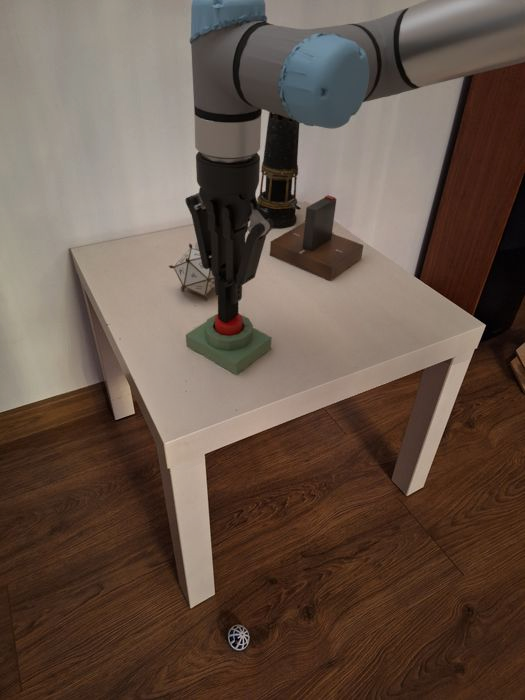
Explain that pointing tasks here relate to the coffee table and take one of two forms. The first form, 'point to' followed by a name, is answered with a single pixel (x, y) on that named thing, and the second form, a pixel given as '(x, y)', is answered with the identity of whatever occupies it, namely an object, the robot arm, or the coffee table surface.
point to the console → (316, 253)
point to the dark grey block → (319, 222)
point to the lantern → (280, 171)
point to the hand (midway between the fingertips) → (228, 316)
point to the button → (229, 326)
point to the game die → (194, 273)
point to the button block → (229, 345)
